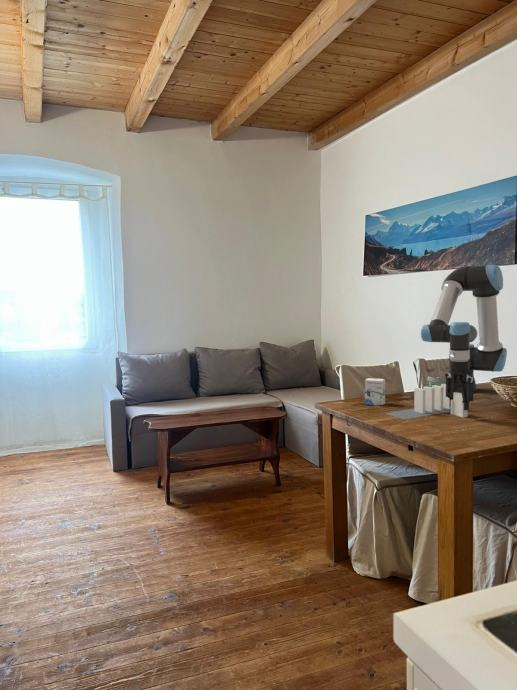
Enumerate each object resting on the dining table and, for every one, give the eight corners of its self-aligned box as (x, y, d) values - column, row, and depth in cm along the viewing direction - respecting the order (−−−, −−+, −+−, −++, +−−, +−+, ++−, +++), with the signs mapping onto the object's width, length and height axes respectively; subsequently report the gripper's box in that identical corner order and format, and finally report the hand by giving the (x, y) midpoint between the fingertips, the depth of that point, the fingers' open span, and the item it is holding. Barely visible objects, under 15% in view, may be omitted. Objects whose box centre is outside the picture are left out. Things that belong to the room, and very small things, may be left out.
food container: (422, 396, 256) (422, 376, 254) (428, 394, 260) (428, 374, 258) (445, 399, 246) (445, 379, 245) (452, 397, 250) (452, 377, 249)
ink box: (364, 405, 242) (364, 380, 240) (367, 402, 246) (366, 378, 245) (383, 406, 238) (383, 380, 237) (385, 403, 243) (385, 378, 241)
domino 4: (443, 406, 232) (443, 383, 230) (452, 408, 227) (452, 385, 226) (440, 406, 231) (440, 384, 230) (449, 408, 226) (449, 386, 225)
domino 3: (434, 407, 229) (434, 385, 228) (443, 409, 225) (443, 387, 224) (432, 408, 229) (432, 385, 228) (440, 410, 224) (440, 387, 223)
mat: (444, 404, 237) (444, 403, 236) (465, 410, 226) (465, 408, 226) (384, 414, 222) (384, 413, 222) (403, 420, 211) (403, 419, 211)
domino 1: (417, 410, 225) (417, 387, 224) (425, 412, 221) (425, 389, 220) (414, 411, 225) (414, 388, 223) (422, 413, 220) (422, 390, 219)
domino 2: (426, 409, 227) (426, 386, 226) (434, 411, 223) (434, 388, 222) (423, 409, 227) (423, 386, 226) (431, 411, 222) (431, 388, 221)
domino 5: (455, 415, 217) (456, 391, 216) (465, 417, 213) (465, 393, 212) (453, 415, 217) (453, 392, 216) (462, 418, 212) (462, 394, 211)
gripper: (436, 358, 219) (436, 413, 221) (470, 363, 203) (469, 422, 205) (449, 357, 222) (449, 410, 224) (484, 361, 206) (483, 419, 208)
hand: (459, 416), depth 215 cm, fingers closed on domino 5, 5 cm apart
